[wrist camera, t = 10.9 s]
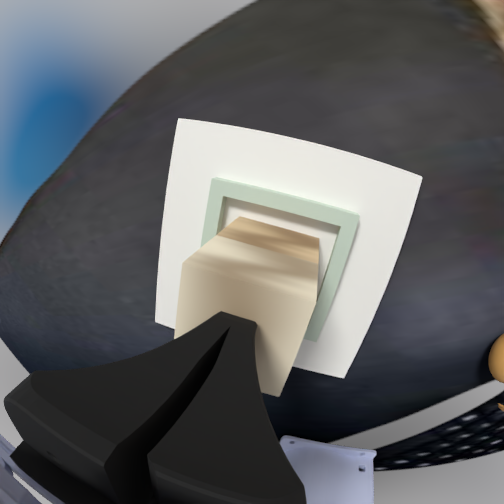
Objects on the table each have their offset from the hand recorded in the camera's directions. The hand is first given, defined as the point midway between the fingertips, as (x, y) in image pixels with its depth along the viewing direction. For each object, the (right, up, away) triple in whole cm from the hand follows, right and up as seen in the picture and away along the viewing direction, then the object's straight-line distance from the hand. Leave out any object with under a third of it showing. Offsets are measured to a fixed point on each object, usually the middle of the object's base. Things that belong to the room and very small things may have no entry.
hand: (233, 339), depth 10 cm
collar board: (+2, +3, +8) cm, 9 cm away
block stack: (+2, +2, +7) cm, 8 cm away
